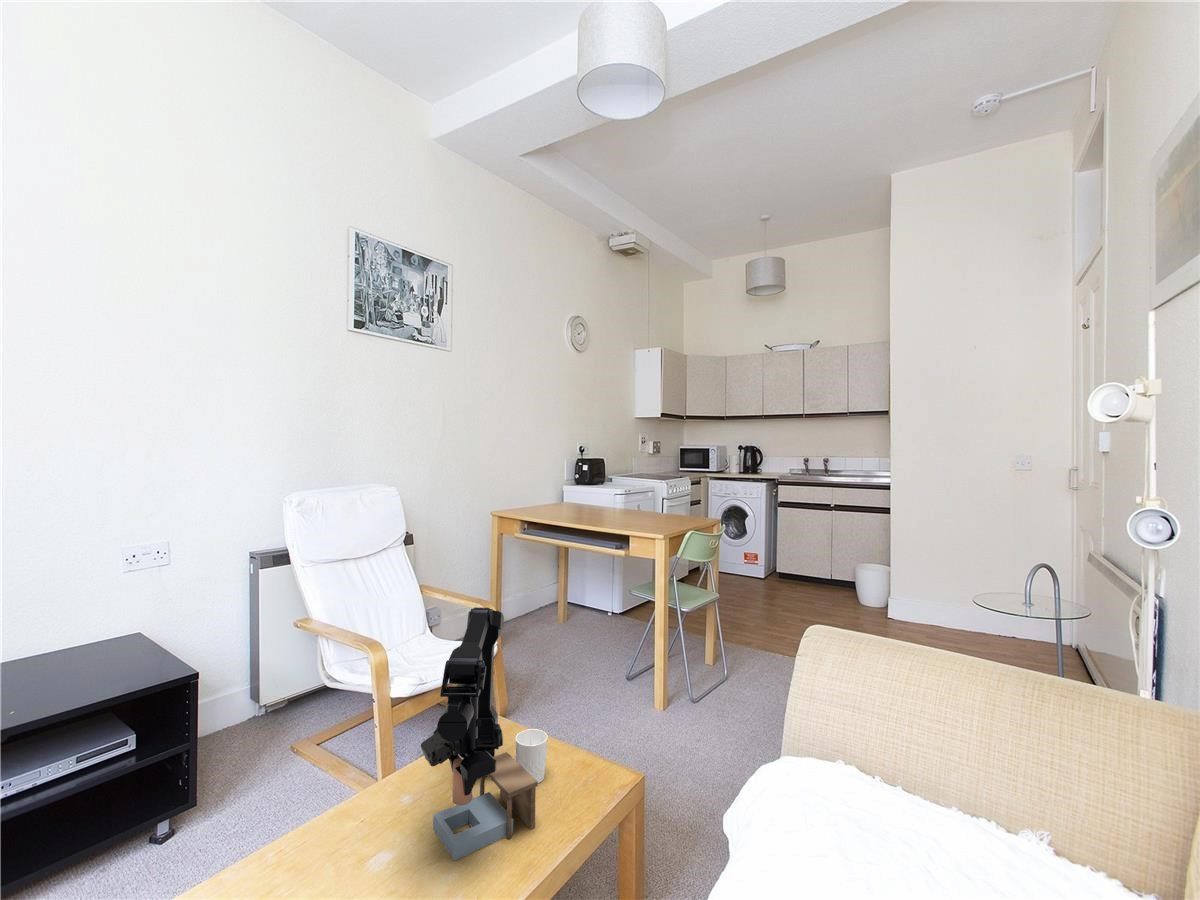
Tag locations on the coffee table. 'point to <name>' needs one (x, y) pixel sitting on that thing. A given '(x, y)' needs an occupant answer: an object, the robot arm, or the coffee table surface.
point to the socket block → (484, 822)
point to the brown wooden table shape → (514, 789)
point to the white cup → (532, 752)
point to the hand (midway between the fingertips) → (462, 789)
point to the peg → (459, 786)
